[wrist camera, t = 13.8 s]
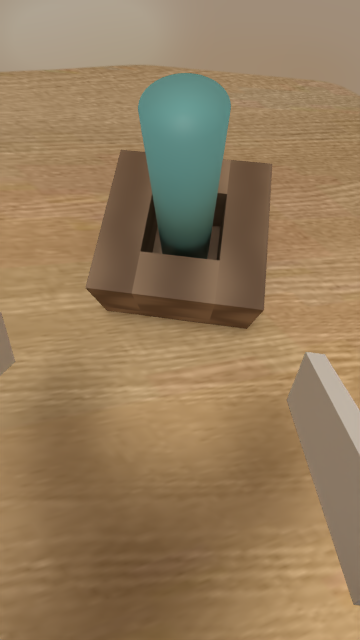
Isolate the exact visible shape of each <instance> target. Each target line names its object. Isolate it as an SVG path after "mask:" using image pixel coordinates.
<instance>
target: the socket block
mask: <svg viewBox="0 0 360 640" xmlns="http://www.w3.org/2000/svg"><path fill="white" fill-rule="evenodd" d="M271 176H272V164H268V163H257V162H246V161H236V160H225V159H223V161H222V167H221V174H220V180H219V187H218V193H217V200H216V206H215V213H214V219H213V225H212V232H211V238H210V245H209V251H208V257H207V259H201V258H193V257H184V256H175V255H167V254H162V248H161V242H160V237H159V231H158V225H157V219H156V213H155V207H154V201H153V195H152V189H151V183H150V177H149V171H148V165H147V159H146V153H145V152H138V151H127V150H121V151H120V155H119V159H118V163H117V167H116V171H115V175H114V179H113V183H112V187H111V190H110V194H109V198H108V202H107V206H106V210H105V214H104V218H103V222H102V226H101V229H100V233H99V237H98V241H97V245H96V249H95V253H94V257H93V261H92V265H91V268H90V272H89V276H88V280H87V284H86V289H87V290H88V291H89V292H90V293H91V294H92V295H93V296H94V297H95V298H96V299H97V300H98V301H99V303H100V304H101V305H102V306H103V307H104V308H105V309H106V310H108V311H116V312H123V313H131V314H139V315H146V316H154V317H162V318H169V319H177V320H185V321H193V322H200V323H208V324H216V325H223V326H231V327H239V328H246V329H247V328H248V327H249V325H250V324H251V323H252V322H253V321H254V320H255V319H256V318H257V317H258V316H259V315H260V314H261V312H262V311H263V310H264V297H265V279H266V262H267V245H268V228H269V211H270V193H271Z"/></svg>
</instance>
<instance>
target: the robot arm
mask: <svg viewBox="0 0 360 640" xmlns="http://www.w3.org/2000/svg"><path fill="white" fill-rule="evenodd" d="M14 362H15V359H14V356H13V352H12V349H11V345H10V342H9V338H8V335H7V331H6V328H5V324H4V321H3V317H2V314H1V312H0V376H1V375H2V374H3V373H4V372H5V371H6V370H7V369H8V368H9V367H10V366H11V365H12V364H13V363H14ZM287 402H288V405H289V409H290V412H291V415H292V418H293V421H294V424H295V427H296V430H297V433H298V436H299V439H300V442H301V445H302V448H303V451H304V454H305V457H306V461H307V464H308V467H309V470H310V473H311V476H312V479H313V482H314V485H315V488H316V491H317V494H318V497H319V500H320V503H321V506H322V509H323V513H324V516H325V519H326V522H327V525H328V528H329V531H330V534H331V537H332V540H333V543H334V546H335V549H336V552H337V555H338V558H339V562H340V565H341V568H342V571H343V574H344V577H345V580H346V583H347V586H348V589H349V592H350V595H351V598H352V601H353V604H354V605H360V410H359V409H358V407H357V406H356V404H355V402H354V401H353V399H352V397H351V396H350V394H349V393H348V391H347V389H346V388H345V386H344V385H343V383H342V381H341V380H340V378H339V376H338V375H337V373H336V372H335V370H334V368H333V367H332V365H331V364H330V362H329V360H328V359H327V357H326V356H325V354H318V353H310V352H306V353H305V355H304V358H303V360H302V363H301V365H300V368H299V370H298V373H297V375H296V378H295V380H294V383H293V385H292V388H291V390H290V393H289V395H288V398H287Z"/></svg>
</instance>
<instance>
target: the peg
mask: <svg viewBox="0 0 360 640" xmlns="http://www.w3.org/2000/svg"><path fill="white" fill-rule="evenodd" d="M230 109H231V104H230V99H229V96H228V94H227V92H226V91H225V90H224V88H223V87H222V86H221V85H220V84H218V83H217V82H216V81H214V80H212V79H210V78H208V77H205V76H202V75H198V74H192V73H180V74H173V75H169V76H166V77H163V78H161V79H159V80H157V81H155V82H154V83H152V84H151V85H150V86H149V87H148V88H147V89H146V90H145V91H144V92H143V94H142V96H141V98H140V100H139V105H138V112H139V118H140V124H141V130H142V136H143V142H144V147H145V153H146V159H147V165H148V171H149V177H150V183H151V189H152V195H153V201H154V207H155V213H156V219H157V225H158V231H159V237H160V242H161V248H162V254H167V255H175V256H184V257H193V258H201V259H207V257H208V251H209V245H210V238H211V232H212V225H213V219H214V213H215V206H216V200H217V193H218V187H219V180H220V174H221V167H222V161H223V154H224V148H225V142H226V135H227V129H228V122H229V116H230Z"/></svg>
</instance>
